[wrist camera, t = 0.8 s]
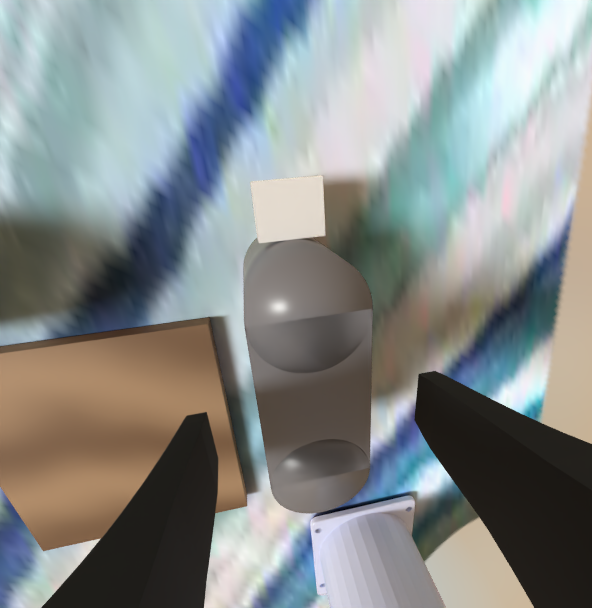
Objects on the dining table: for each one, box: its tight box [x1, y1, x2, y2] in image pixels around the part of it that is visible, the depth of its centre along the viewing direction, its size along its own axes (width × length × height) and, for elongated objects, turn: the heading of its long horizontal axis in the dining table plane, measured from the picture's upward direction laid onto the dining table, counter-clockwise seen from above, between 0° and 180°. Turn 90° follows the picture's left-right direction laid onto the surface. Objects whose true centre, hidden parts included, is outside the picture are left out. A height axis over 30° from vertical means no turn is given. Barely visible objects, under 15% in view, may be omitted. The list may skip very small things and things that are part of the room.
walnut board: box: [0, 317, 247, 551], centre depth 16 cm, size 13×12×1 cm
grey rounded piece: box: [243, 175, 373, 513], centre depth 13 cm, size 13×4×6 cm, turn 5°
